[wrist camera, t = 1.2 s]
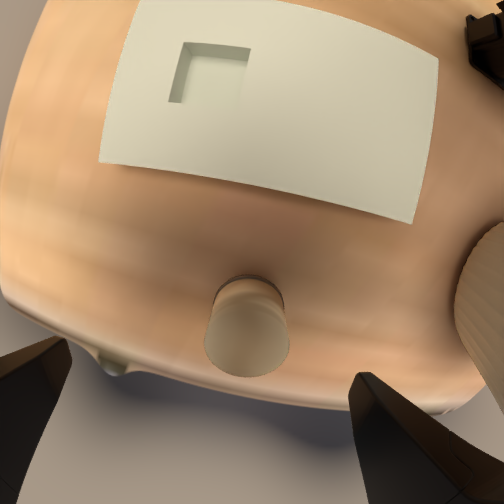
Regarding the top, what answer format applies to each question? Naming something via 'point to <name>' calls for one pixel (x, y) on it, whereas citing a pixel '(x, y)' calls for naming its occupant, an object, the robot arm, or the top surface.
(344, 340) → the top surface
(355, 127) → the board
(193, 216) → the top surface
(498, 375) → the canister
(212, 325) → the peg
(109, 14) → the top surface
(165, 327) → the top surface
